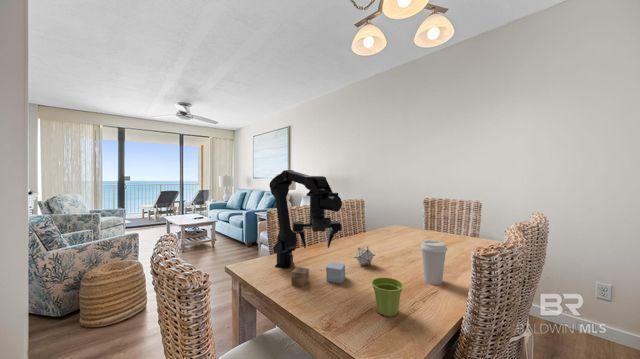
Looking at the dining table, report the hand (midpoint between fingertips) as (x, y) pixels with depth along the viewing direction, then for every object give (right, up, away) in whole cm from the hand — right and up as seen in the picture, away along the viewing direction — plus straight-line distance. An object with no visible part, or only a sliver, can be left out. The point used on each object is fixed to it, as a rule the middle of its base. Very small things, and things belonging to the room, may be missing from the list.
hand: (316, 247), depth 99 cm
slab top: (+8, -9, +1) cm, 12 cm away
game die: (+22, -12, +16) cm, 30 cm away
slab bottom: (+8, -13, +1) cm, 15 cm away
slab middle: (+8, -11, +1) cm, 14 cm away
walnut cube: (-6, -13, -3) cm, 14 cm away
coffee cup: (+45, -13, -1) cm, 47 cm away
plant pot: (+22, -14, -22) cm, 34 cm away
